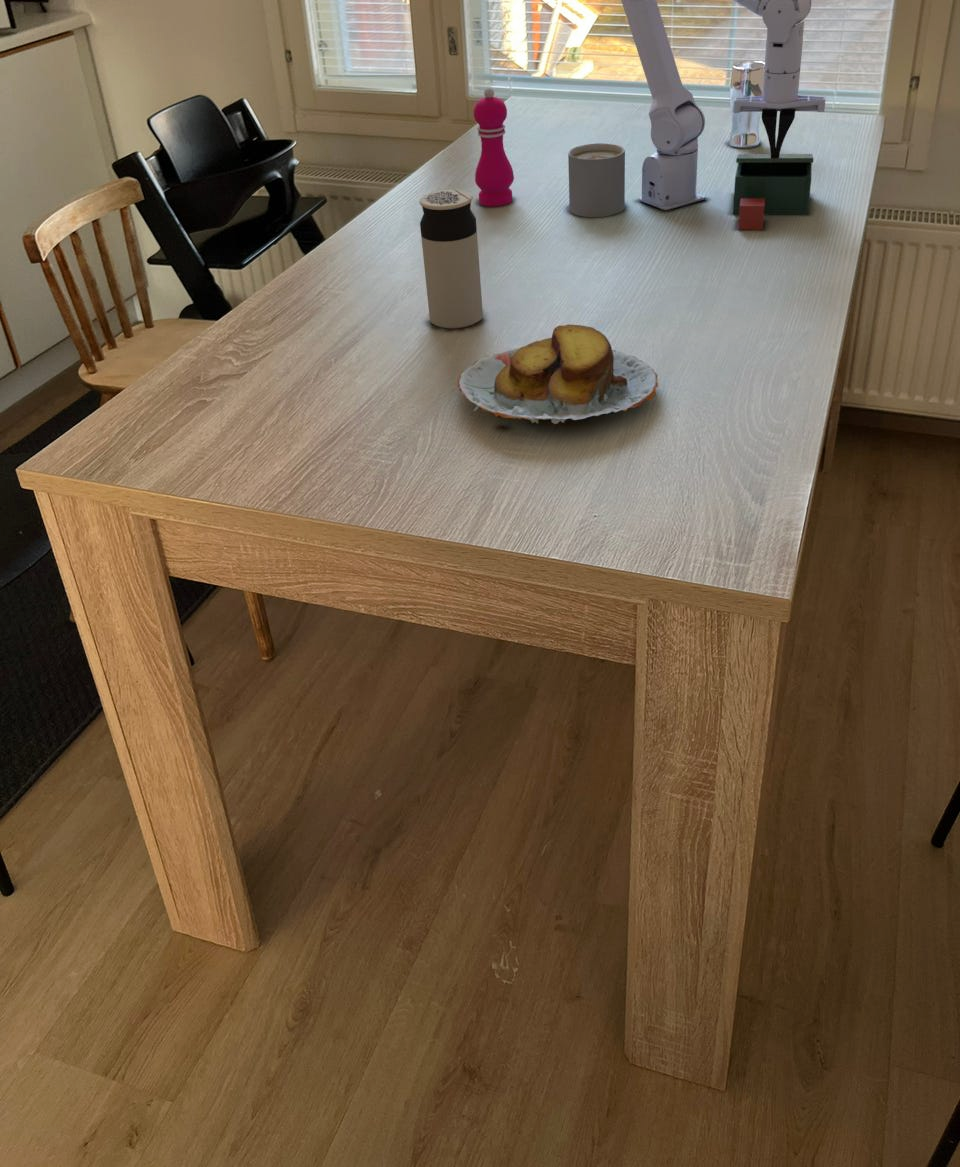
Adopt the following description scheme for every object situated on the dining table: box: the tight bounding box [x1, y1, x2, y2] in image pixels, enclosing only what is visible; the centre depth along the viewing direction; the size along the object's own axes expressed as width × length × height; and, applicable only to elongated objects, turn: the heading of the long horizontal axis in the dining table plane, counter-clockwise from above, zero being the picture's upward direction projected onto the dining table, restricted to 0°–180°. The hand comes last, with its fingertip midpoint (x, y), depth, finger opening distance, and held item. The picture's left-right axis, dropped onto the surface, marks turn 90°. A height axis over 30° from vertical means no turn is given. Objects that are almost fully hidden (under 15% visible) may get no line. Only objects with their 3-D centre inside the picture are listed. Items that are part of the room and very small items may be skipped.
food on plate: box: [457, 324, 659, 428], centre depth 143 cm, size 25×25×7 cm
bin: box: [732, 162, 813, 216], centre depth 197 cm, size 11×13×6 cm
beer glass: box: [728, 60, 765, 149], centre depth 225 cm, size 7×7×15 cm
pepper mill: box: [473, 87, 515, 208], centre depth 205 cm, size 7×7×20 cm
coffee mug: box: [567, 142, 626, 218], centre depth 202 cm, size 13×10×10 cm
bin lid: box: [735, 153, 814, 164], centre depth 194 cm, size 11×13×1 cm
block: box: [737, 198, 765, 231], centre depth 190 cm, size 4×4×4 cm
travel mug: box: [419, 189, 484, 330], centre depth 162 cm, size 8×8×18 cm
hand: (774, 156), depth 190 cm, fingers closed
